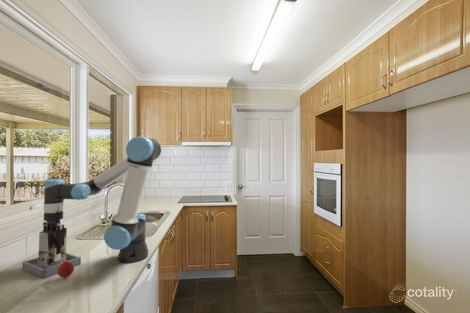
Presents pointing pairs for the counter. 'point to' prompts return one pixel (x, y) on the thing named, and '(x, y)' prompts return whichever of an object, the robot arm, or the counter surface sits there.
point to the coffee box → (49, 248)
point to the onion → (65, 269)
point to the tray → (45, 272)
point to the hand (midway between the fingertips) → (52, 258)
